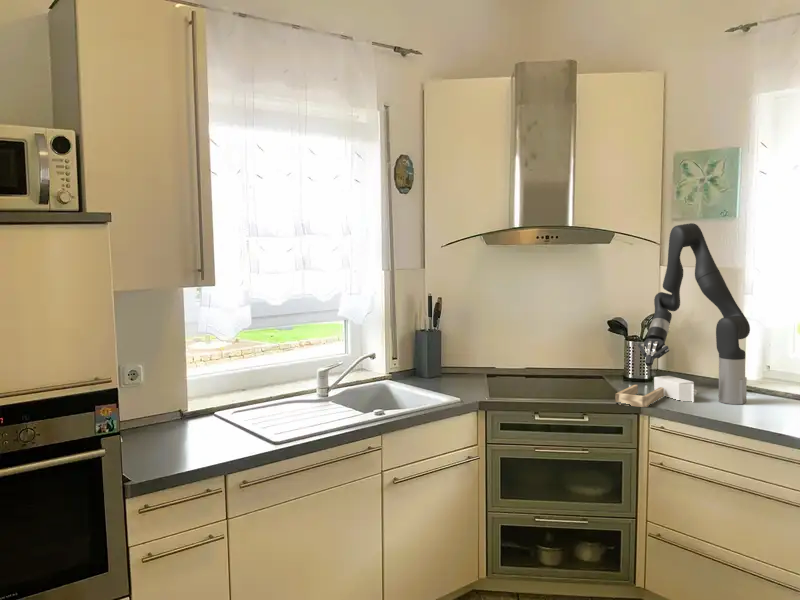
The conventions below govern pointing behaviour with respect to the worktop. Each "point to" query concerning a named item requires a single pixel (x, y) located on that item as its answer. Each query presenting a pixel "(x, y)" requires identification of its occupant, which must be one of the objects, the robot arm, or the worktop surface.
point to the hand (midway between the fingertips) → (648, 364)
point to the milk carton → (676, 388)
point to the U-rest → (636, 400)
